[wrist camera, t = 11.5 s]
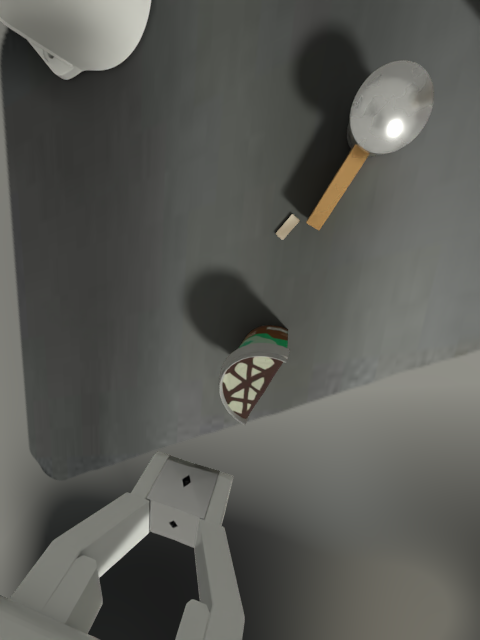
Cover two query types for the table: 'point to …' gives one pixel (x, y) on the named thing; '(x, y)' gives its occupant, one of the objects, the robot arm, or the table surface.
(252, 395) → the food container
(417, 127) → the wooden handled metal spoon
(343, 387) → the table surface
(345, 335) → the table surface
